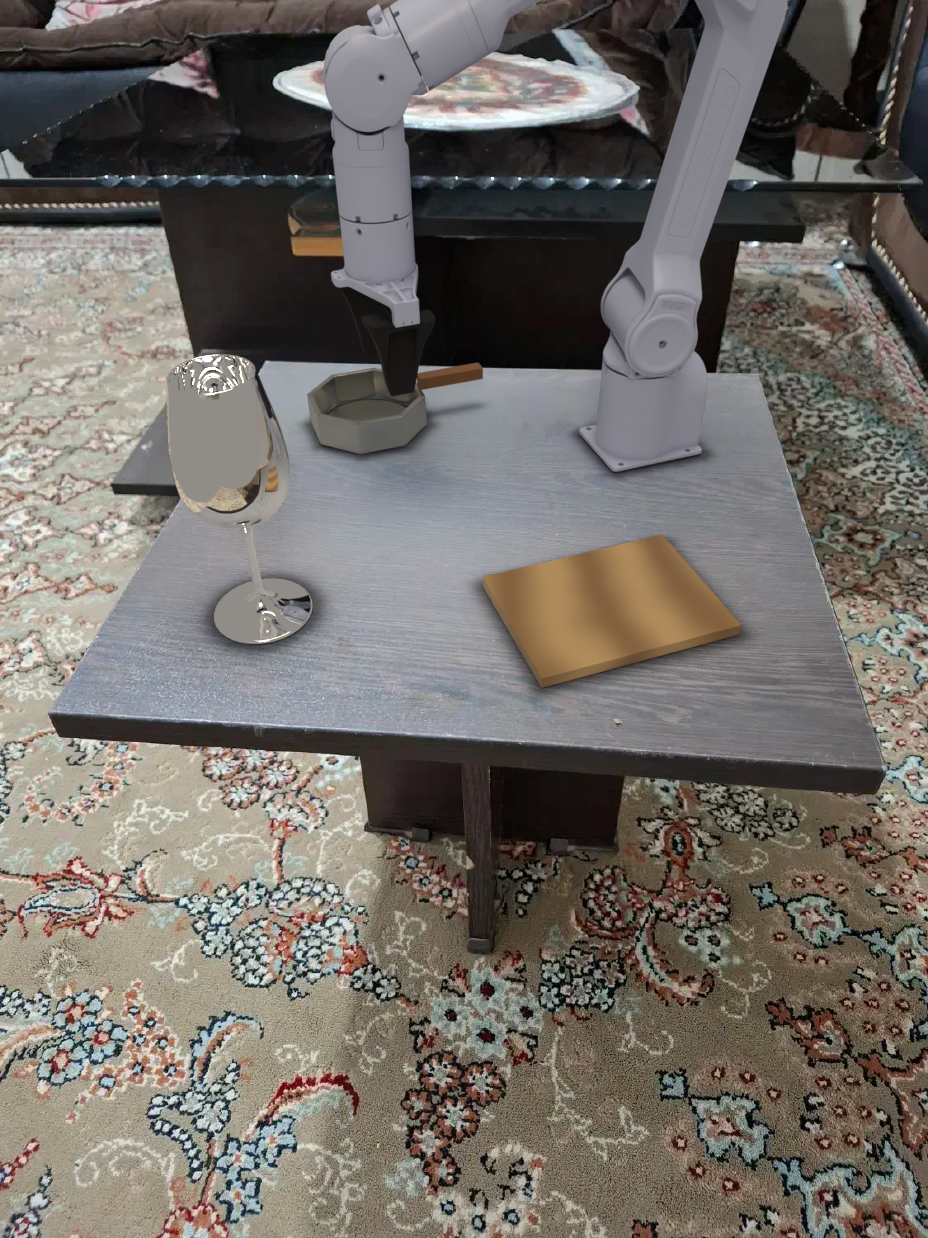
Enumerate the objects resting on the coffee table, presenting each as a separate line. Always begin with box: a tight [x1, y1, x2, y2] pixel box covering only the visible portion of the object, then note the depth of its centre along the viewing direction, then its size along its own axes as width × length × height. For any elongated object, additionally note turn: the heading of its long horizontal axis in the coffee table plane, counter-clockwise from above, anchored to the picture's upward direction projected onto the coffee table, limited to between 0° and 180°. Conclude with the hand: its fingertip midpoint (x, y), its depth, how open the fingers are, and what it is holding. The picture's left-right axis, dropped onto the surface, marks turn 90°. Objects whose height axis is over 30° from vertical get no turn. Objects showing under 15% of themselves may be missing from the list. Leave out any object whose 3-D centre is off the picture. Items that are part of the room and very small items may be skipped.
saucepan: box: [306, 362, 484, 455], centre depth 90 cm, size 18×11×4 cm, turn 109°
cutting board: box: [482, 534, 742, 689], centre depth 69 cm, size 16×12×1 cm
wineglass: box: [166, 353, 314, 645], centre depth 63 cm, size 8×8×20 cm
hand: (389, 373), depth 79 cm, fingers open, 7 cm apart
